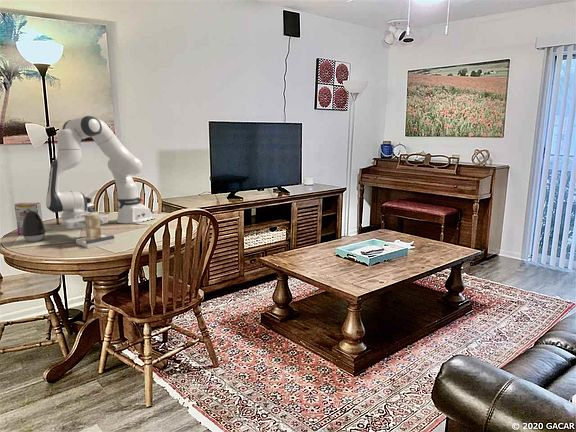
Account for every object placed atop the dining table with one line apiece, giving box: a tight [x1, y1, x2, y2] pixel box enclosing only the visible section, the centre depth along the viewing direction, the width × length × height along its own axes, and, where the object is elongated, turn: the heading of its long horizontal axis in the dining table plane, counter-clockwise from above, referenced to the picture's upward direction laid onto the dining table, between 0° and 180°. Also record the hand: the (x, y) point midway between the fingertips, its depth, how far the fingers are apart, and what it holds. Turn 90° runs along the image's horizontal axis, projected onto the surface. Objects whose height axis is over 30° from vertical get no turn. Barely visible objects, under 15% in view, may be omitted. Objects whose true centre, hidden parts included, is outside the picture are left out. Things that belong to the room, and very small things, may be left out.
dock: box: [75, 234, 116, 249], centre depth 211 cm, size 13×13×4 cm
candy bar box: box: [14, 202, 43, 235], centre depth 230 cm, size 11×5×16 cm, turn 99°
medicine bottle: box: [85, 196, 96, 212], centre depth 274 cm, size 7×7×12 cm
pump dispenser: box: [21, 211, 46, 243], centre depth 215 cm, size 10×10×15 cm
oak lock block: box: [84, 213, 102, 240], centre depth 210 cm, size 5×5×12 cm
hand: (93, 224), depth 210 cm, fingers open, 8 cm apart
